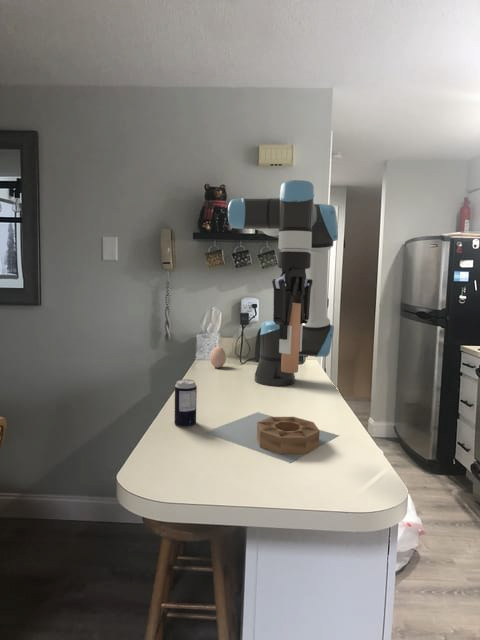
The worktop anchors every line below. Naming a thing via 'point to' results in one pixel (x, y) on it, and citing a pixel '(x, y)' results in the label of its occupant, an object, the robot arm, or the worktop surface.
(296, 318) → the tan round-topped peg
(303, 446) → the bead
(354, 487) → the worktop surface
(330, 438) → the mat
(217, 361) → the egg
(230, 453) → the worktop surface
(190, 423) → the beverage can
